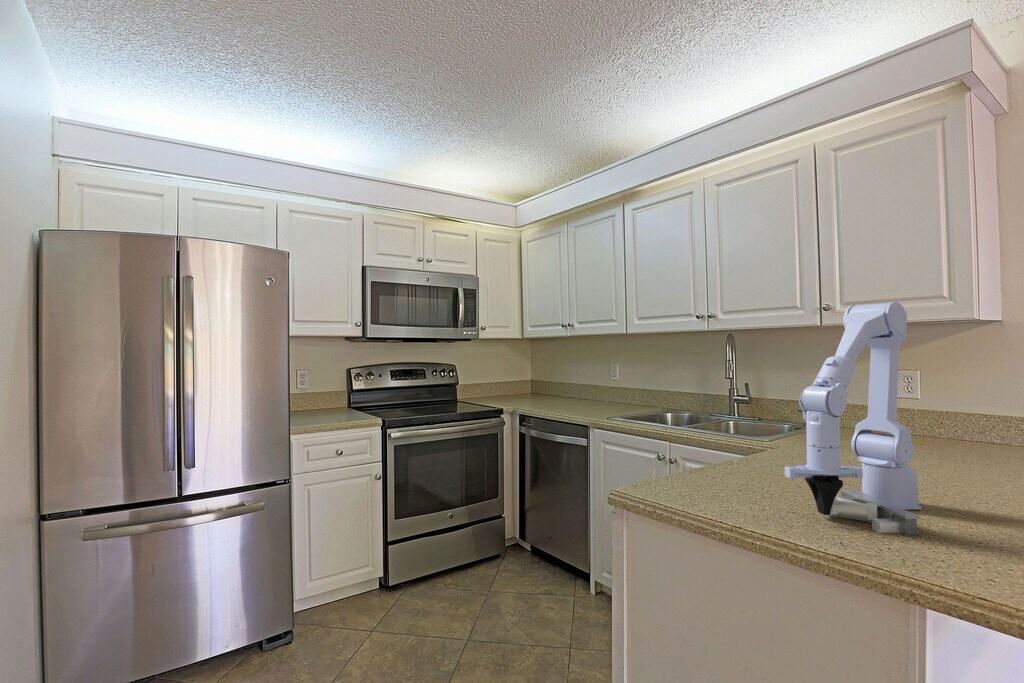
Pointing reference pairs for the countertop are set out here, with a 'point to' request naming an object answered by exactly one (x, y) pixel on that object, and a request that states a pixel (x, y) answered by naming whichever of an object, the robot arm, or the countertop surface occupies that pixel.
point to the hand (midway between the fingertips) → (823, 513)
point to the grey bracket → (886, 514)
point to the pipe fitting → (853, 510)
